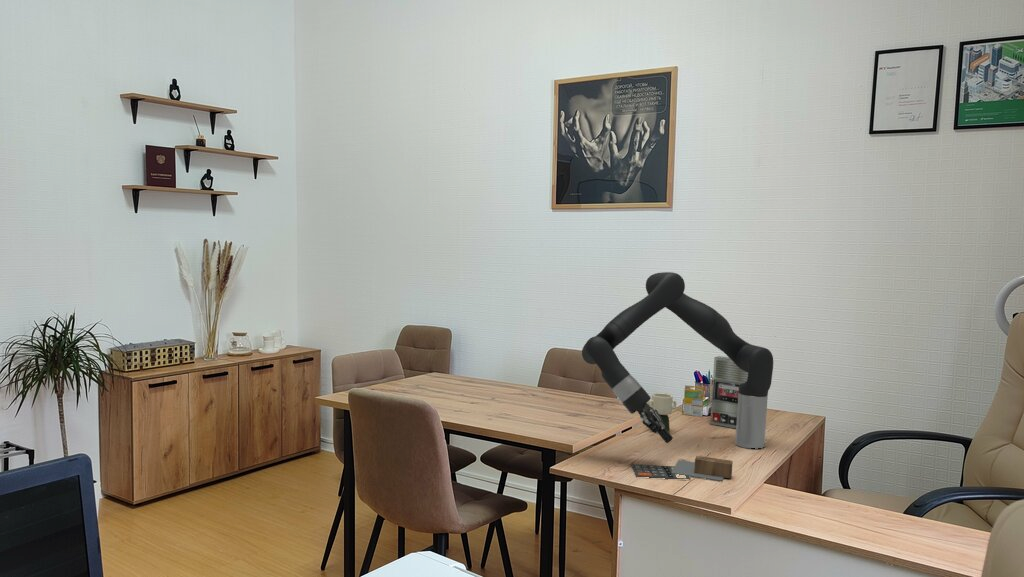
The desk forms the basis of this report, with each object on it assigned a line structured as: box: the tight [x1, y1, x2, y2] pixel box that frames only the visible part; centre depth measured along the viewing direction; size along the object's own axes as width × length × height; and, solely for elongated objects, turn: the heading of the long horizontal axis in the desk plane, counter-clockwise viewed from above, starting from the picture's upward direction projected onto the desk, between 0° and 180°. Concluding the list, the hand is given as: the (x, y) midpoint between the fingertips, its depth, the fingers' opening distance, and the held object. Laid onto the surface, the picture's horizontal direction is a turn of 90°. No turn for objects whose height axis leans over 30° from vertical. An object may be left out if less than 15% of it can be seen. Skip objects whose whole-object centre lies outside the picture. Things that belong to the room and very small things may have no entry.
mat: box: [671, 459, 725, 482], centre depth 209 cm, size 14×14×1 cm
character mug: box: [647, 392, 677, 432], centre depth 254 cm, size 11×7×13 cm, turn 103°
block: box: [694, 455, 734, 479], centre depth 206 cm, size 4×4×10 cm
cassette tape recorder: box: [708, 355, 748, 429], centre depth 266 cm, size 14×6×25 cm, turn 55°
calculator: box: [631, 463, 692, 480], centre depth 206 cm, size 12×1×15 cm
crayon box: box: [682, 385, 705, 417], centre depth 283 cm, size 7×3×12 cm, turn 77°
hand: (670, 440), depth 210 cm, fingers closed
